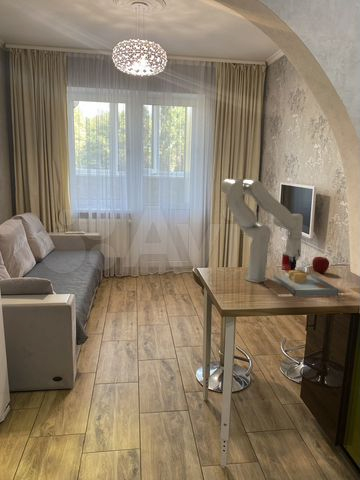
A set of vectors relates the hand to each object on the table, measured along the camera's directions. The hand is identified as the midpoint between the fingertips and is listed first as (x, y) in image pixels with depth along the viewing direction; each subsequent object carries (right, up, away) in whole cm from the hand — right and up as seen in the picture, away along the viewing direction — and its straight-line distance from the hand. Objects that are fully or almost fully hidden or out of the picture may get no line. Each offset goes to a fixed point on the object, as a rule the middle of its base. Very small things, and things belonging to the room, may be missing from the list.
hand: (292, 267), depth 207 cm
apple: (+20, -4, +13) cm, 24 cm away
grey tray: (+1, -9, -15) cm, 18 cm away
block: (0, -6, -8) cm, 10 cm away
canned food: (+2, -3, +15) cm, 15 cm away
